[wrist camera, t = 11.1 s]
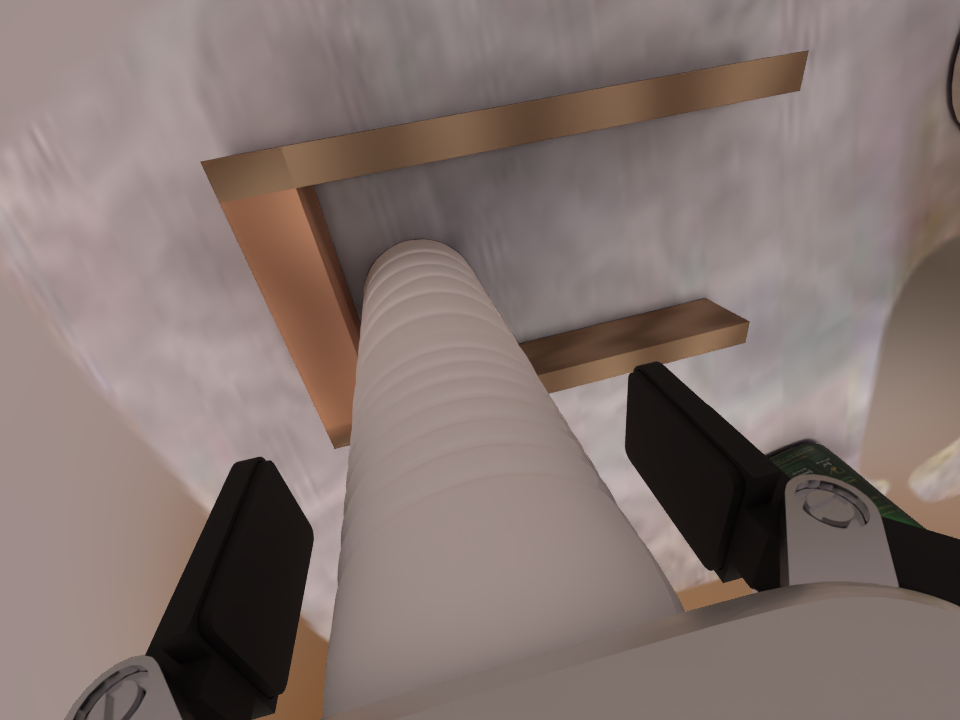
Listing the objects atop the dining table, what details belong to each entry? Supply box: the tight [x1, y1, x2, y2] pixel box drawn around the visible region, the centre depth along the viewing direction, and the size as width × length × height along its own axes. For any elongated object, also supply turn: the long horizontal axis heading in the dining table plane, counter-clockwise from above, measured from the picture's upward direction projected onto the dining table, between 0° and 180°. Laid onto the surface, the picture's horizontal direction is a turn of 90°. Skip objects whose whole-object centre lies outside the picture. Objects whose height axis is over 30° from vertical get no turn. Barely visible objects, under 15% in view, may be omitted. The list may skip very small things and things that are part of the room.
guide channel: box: [201, 50, 809, 449], centre depth 22 cm, size 26×15×4 cm, turn 98°
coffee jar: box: [769, 443, 927, 530], centre depth 33 cm, size 10×8×19 cm
